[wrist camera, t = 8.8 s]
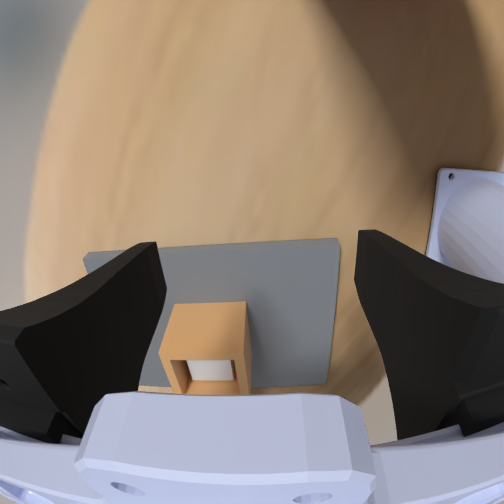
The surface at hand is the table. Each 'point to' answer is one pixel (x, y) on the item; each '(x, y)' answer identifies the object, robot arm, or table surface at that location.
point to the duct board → (254, 305)
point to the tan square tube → (207, 346)
